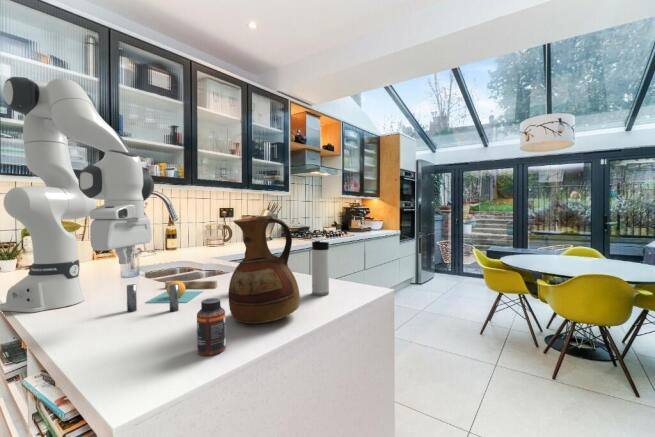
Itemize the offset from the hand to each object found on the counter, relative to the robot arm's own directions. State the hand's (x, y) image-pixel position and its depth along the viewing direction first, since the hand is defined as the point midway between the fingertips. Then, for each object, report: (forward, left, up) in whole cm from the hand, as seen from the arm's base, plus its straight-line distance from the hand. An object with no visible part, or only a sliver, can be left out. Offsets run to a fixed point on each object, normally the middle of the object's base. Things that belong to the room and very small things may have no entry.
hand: (125, 263), depth 83 cm
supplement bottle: (+28, -15, -17) cm, 36 cm away
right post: (+6, +13, -17) cm, 22 cm away
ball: (+1, +27, -14) cm, 31 cm away
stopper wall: (0, +41, -17) cm, 45 cm away
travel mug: (+52, +31, -17) cm, 63 cm away
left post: (-6, +13, -17) cm, 22 cm away
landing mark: (0, +28, -17) cm, 33 cm away
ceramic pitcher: (+36, +6, -17) cm, 40 cm away
